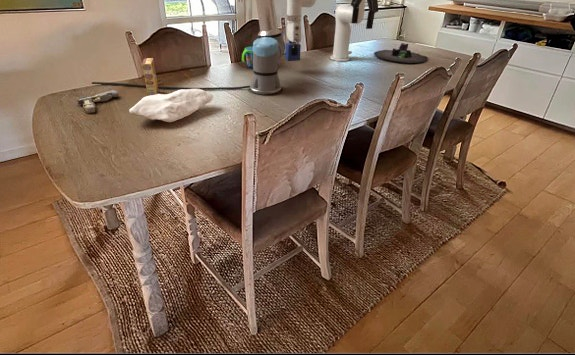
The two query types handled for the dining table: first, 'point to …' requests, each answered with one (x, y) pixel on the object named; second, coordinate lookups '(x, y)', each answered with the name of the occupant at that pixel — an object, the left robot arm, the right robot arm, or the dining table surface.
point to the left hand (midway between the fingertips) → (361, 25)
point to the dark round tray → (401, 55)
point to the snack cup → (248, 56)
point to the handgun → (95, 100)
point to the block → (289, 52)
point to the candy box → (150, 76)
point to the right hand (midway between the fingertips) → (292, 53)
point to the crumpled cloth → (171, 104)
